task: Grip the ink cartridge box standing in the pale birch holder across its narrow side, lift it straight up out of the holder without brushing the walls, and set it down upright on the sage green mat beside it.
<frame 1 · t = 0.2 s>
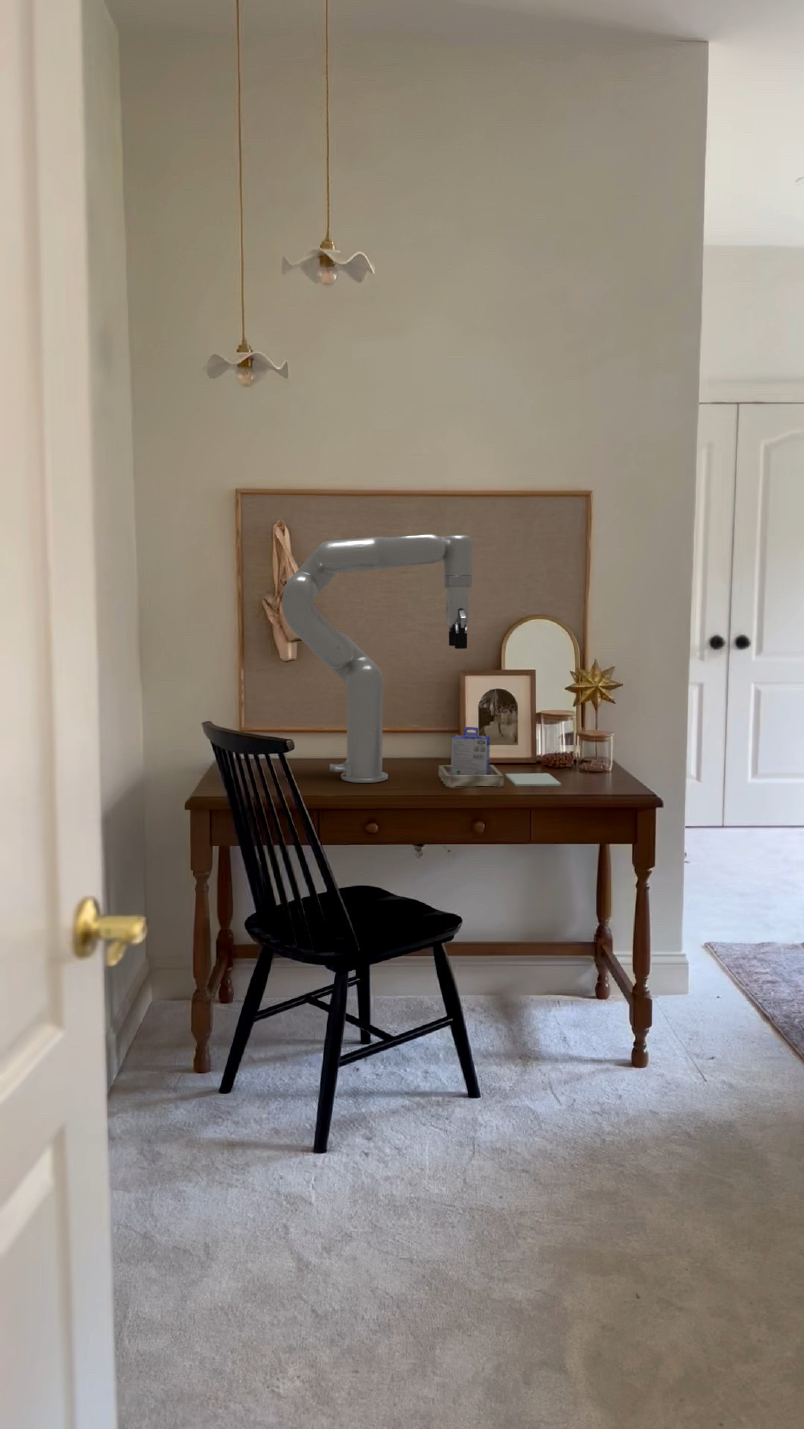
hand: (457, 647, 292), 36 cm above the table, tool pointing down, fingers open, 9 cm apart
holder: (470, 781, 293), on the table
ink cartridge box: (470, 782, 293), resting in holder
mat: (532, 780, 295), on the table
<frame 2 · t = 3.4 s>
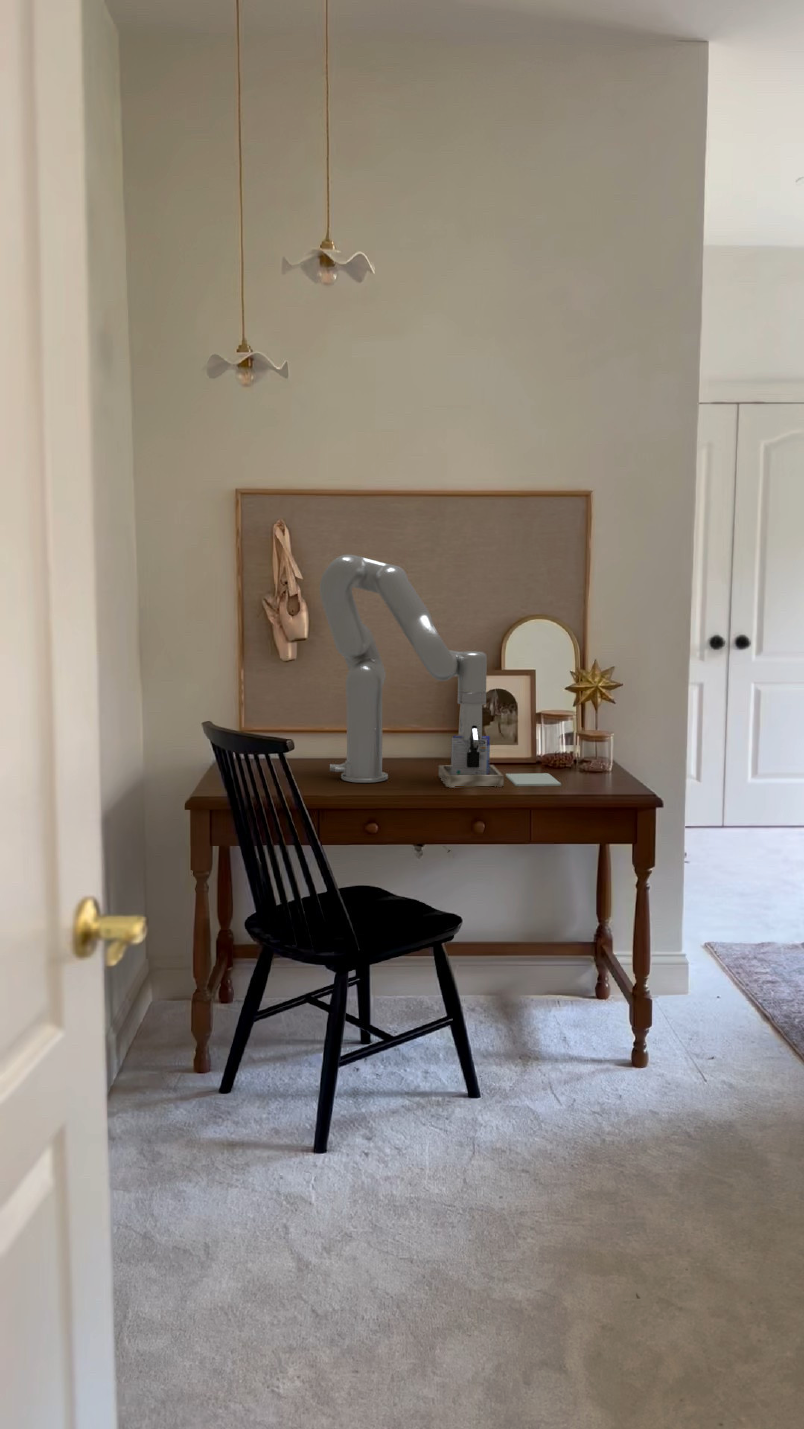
hand: (470, 764, 293), 5 cm above the table, tool pointing down, fingers closed on ink cartridge box, 6 cm apart
ink cartridge box: (470, 782, 293), resting in holder, touching gripper
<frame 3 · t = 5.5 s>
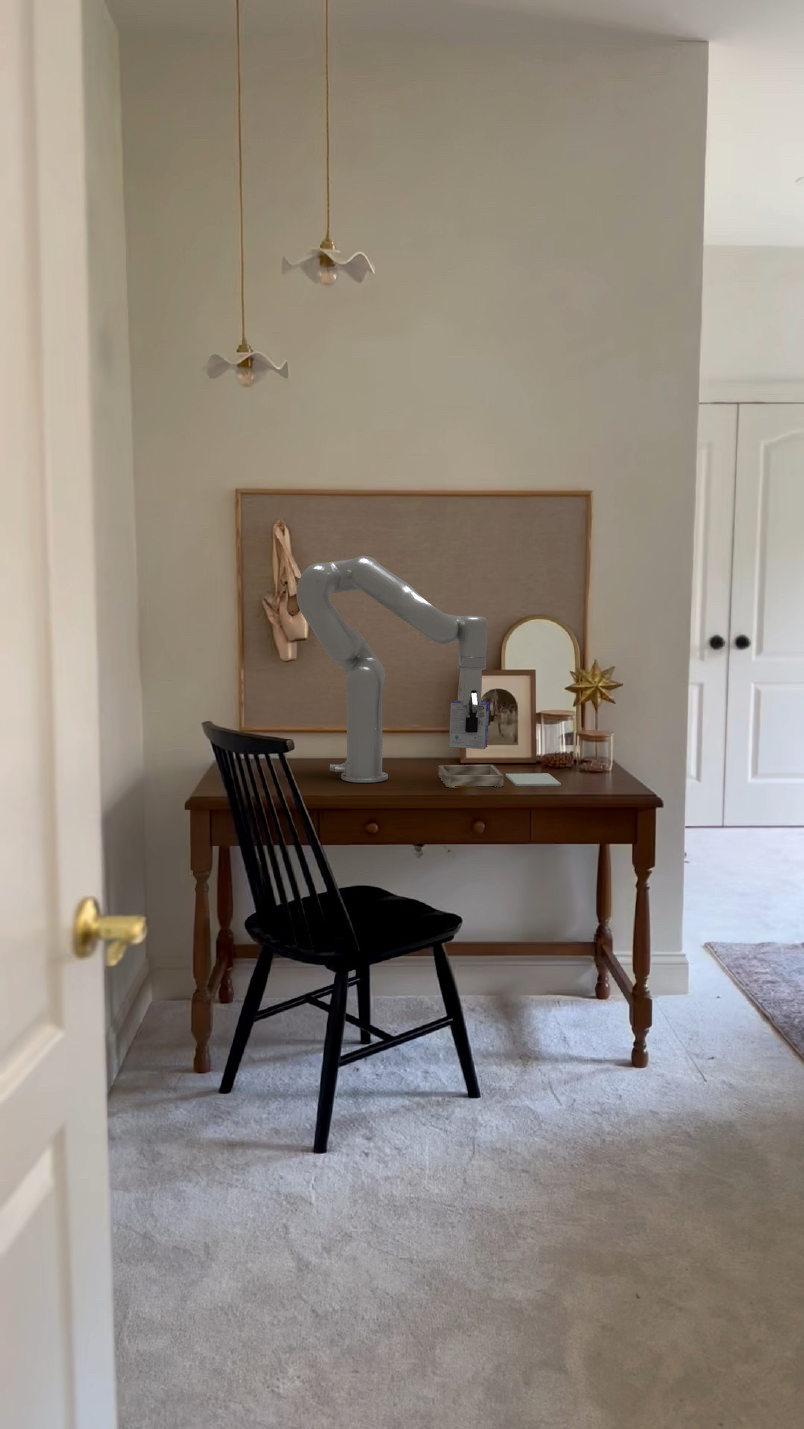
hand: (469, 729, 291), 14 cm above the table, tool pointing down, fingers closed on ink cartridge box, 6 cm apart
ink cartridge box: (468, 747, 292), point 9 cm above the table, touching gripper
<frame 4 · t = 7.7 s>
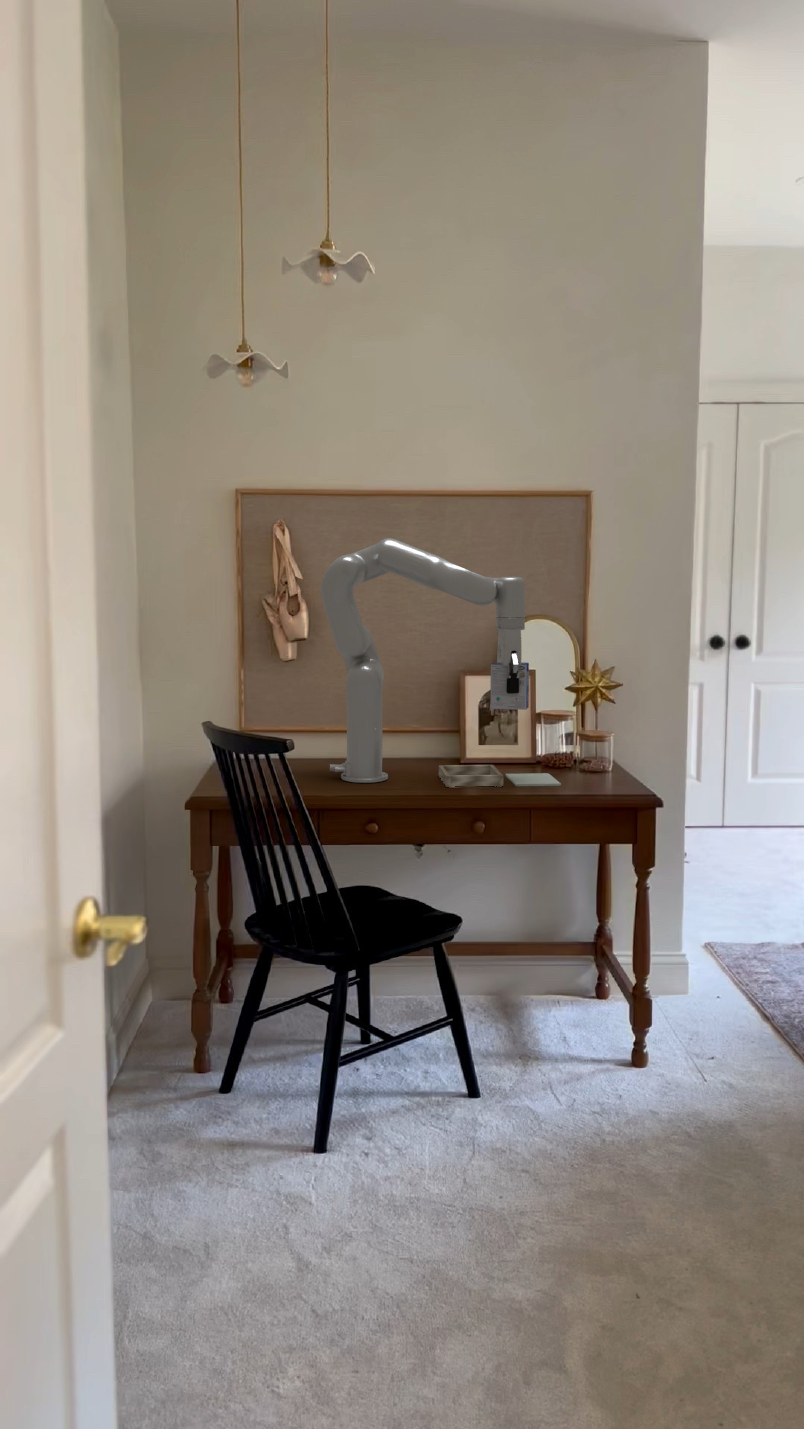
hand: (510, 691, 291), 24 cm above the table, tool pointing down, fingers closed on ink cartridge box, 6 cm apart
ink cartridge box: (509, 709, 292), point 19 cm above the table, touching gripper
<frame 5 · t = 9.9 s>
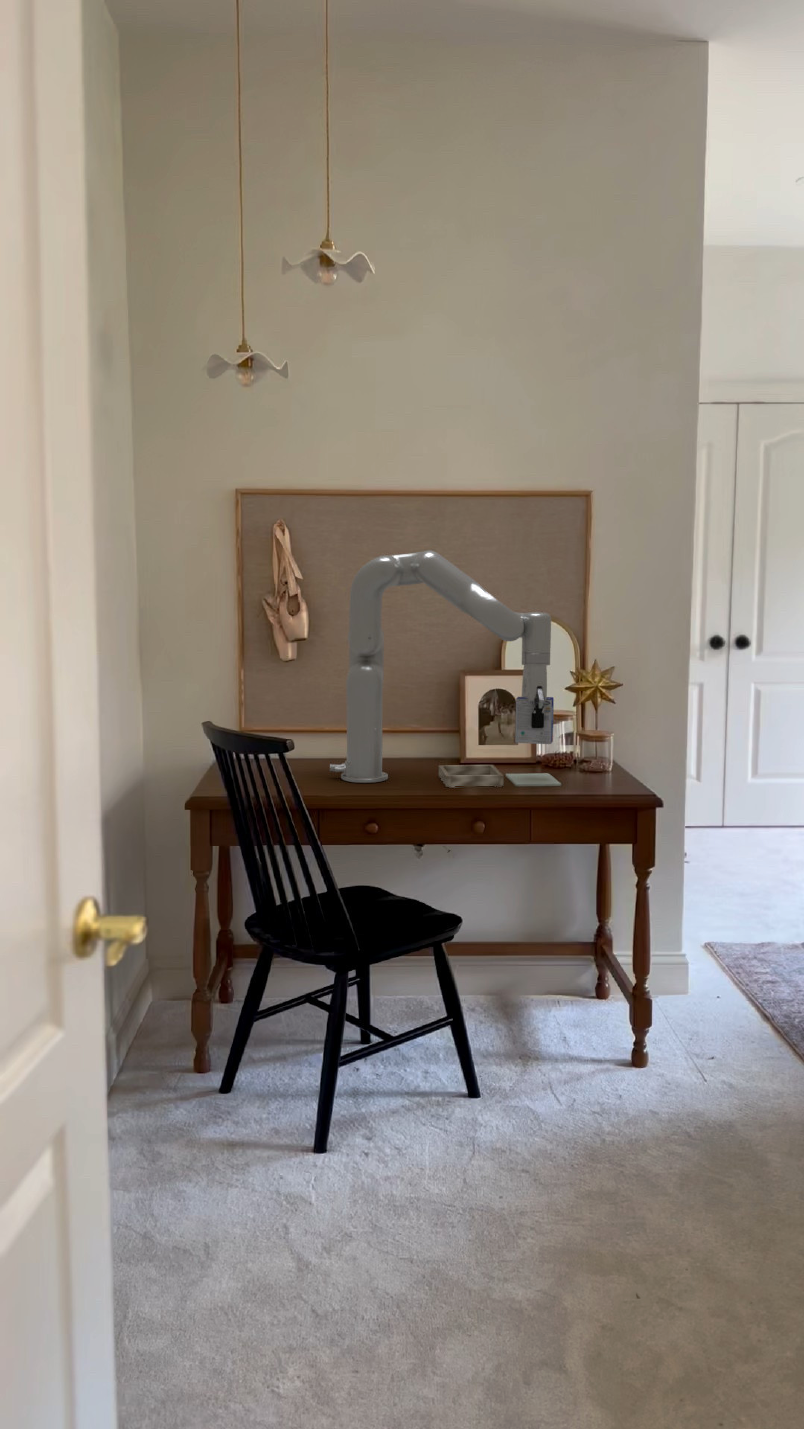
hand: (534, 725, 293), 15 cm above the table, tool pointing down, fingers closed on ink cartridge box, 6 cm apart
ink cartridge box: (534, 743, 294), point 10 cm above the table, touching gripper
when the fingers open (6 cm above the table, at t = 12.0 s): ink cartridge box drops 1 cm, resting on mat.
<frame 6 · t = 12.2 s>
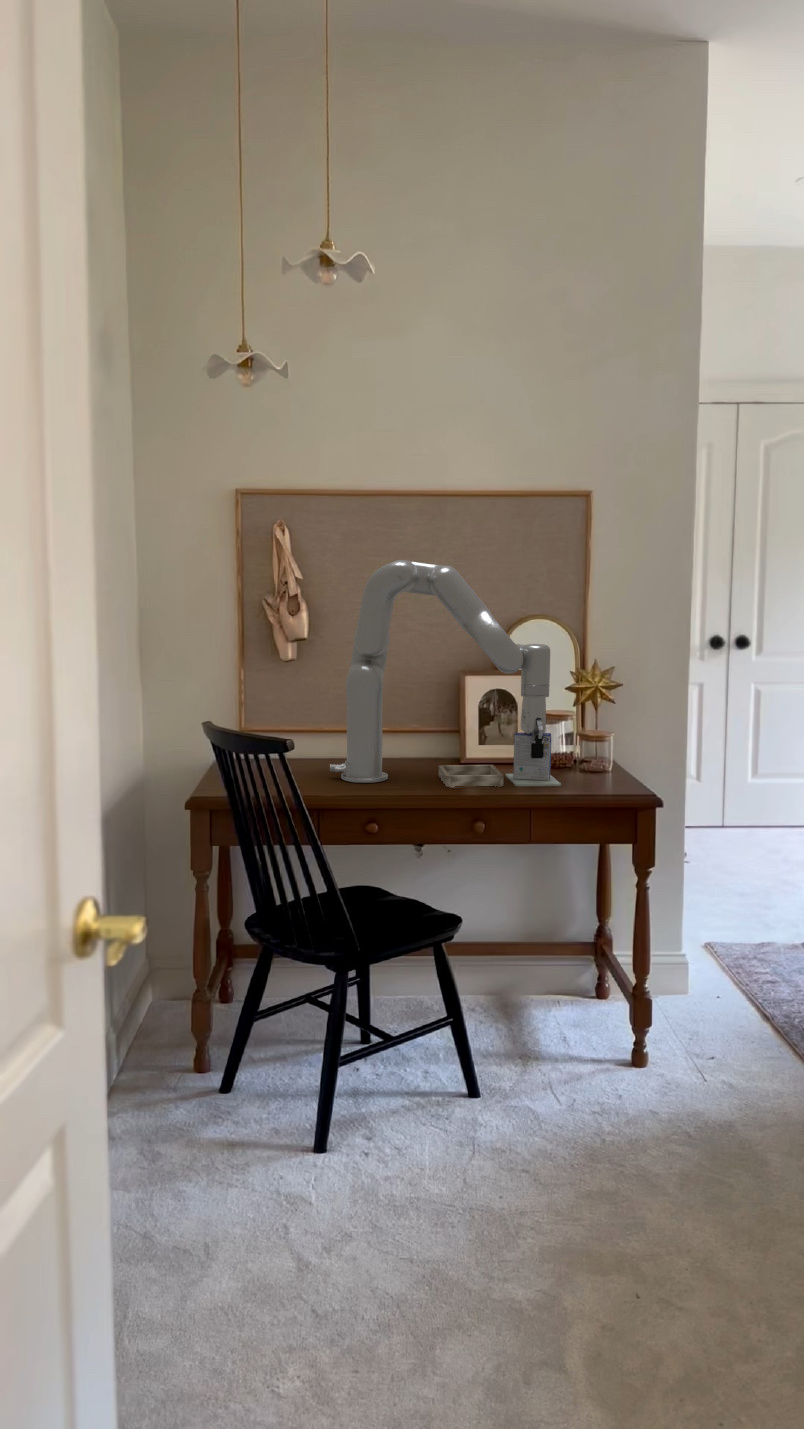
hand: (533, 754, 294), 7 cm above the table, tool pointing down, fingers open, 8 cm apart
ink cartridge box: (531, 779, 295), resting on mat
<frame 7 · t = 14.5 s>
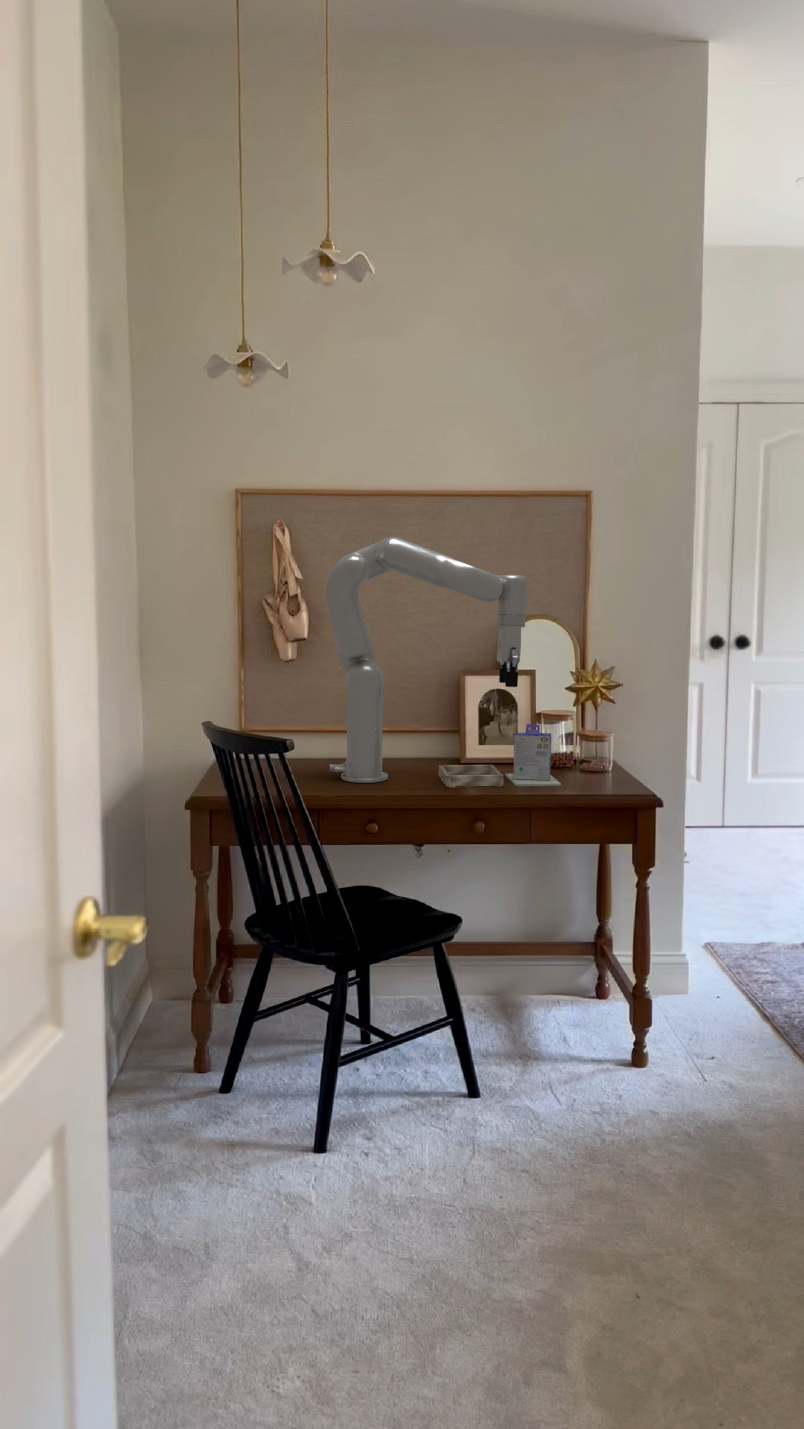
hand: (508, 684, 296), 25 cm above the table, tool pointing down, fingers open, 9 cm apart
nothing on the table moved.
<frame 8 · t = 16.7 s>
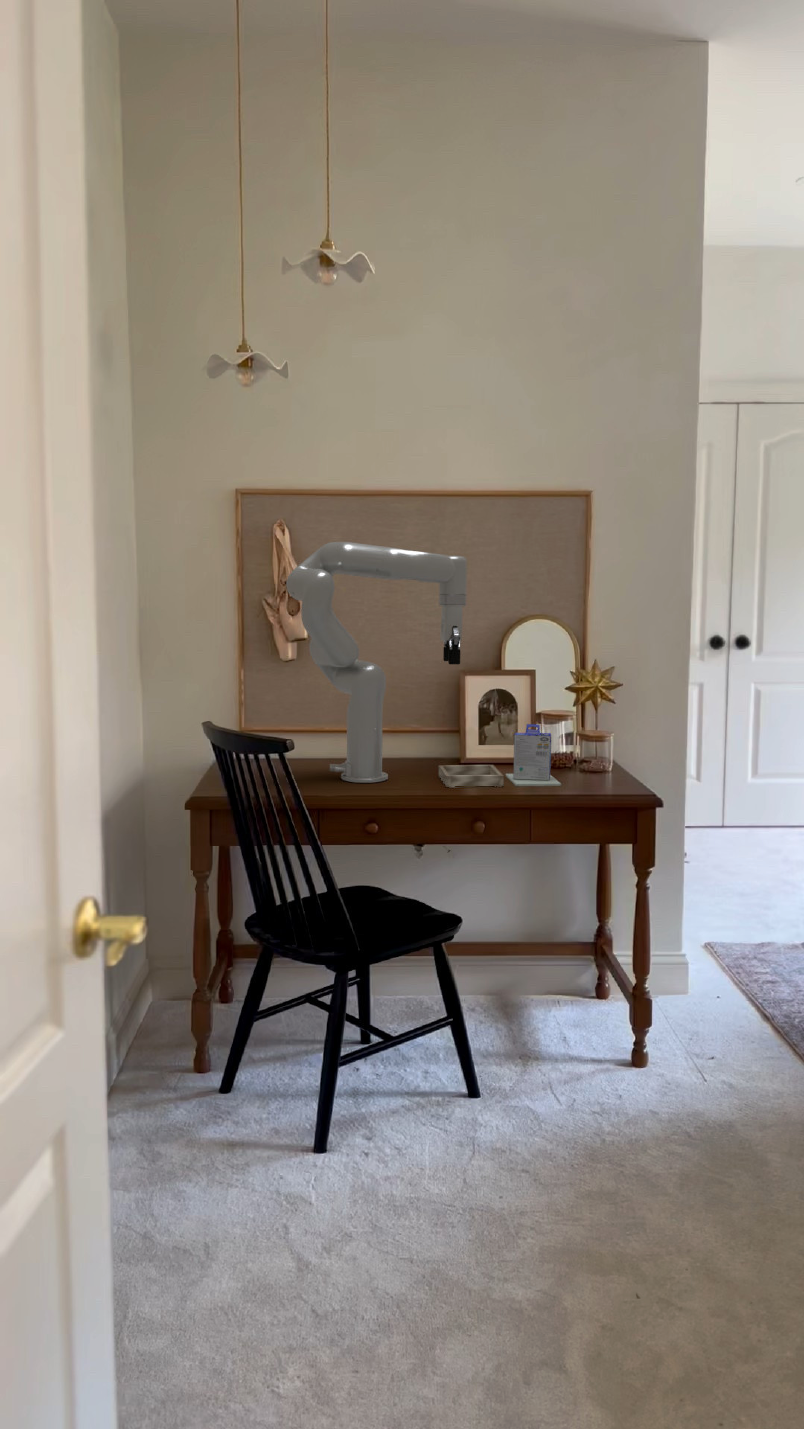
hand: (451, 662, 305), 30 cm above the table, tool pointing down, fingers open, 9 cm apart
nothing on the table moved.
at the end: ink cartridge box inside the target area on the mat (0.4 cm from its centre), point 0.4 cm above the mat's base; ink cartridge box tilted 0°; ink cartridge box touching mat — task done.
